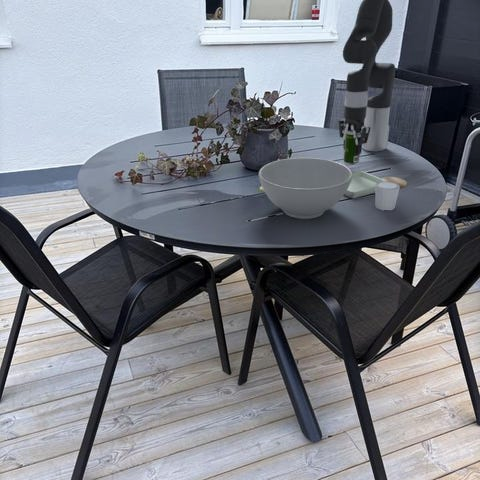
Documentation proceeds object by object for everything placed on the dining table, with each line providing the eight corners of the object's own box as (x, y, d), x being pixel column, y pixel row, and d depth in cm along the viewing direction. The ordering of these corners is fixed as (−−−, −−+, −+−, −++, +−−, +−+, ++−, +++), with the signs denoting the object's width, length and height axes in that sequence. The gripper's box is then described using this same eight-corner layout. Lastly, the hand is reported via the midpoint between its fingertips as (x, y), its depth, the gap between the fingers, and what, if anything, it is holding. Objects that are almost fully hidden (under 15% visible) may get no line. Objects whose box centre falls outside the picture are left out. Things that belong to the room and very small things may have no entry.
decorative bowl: (248, 199, 147) (247, 163, 141) (325, 188, 153) (327, 153, 147) (277, 236, 124) (277, 194, 118) (366, 222, 130) (370, 181, 124)
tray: (361, 176, 162) (361, 170, 161) (390, 188, 151) (391, 182, 150) (324, 185, 156) (325, 179, 155) (352, 198, 145) (353, 192, 144)
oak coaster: (392, 176, 161) (392, 175, 160) (412, 184, 154) (412, 183, 153) (373, 181, 157) (373, 180, 157) (392, 190, 150) (392, 188, 150)
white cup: (384, 213, 135) (387, 191, 131) (368, 205, 140) (370, 183, 137) (401, 208, 137) (405, 186, 134) (385, 200, 143) (388, 179, 139)
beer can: (361, 162, 166) (364, 129, 160) (352, 166, 163) (355, 133, 157) (349, 159, 169) (352, 126, 163) (340, 162, 166) (342, 130, 161)
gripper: (379, 106, 152) (374, 155, 160) (350, 98, 163) (346, 145, 171) (361, 109, 149) (357, 159, 157) (333, 101, 160) (330, 149, 168)
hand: (351, 152), depth 164 cm, fingers closed on beer can, 5 cm apart
